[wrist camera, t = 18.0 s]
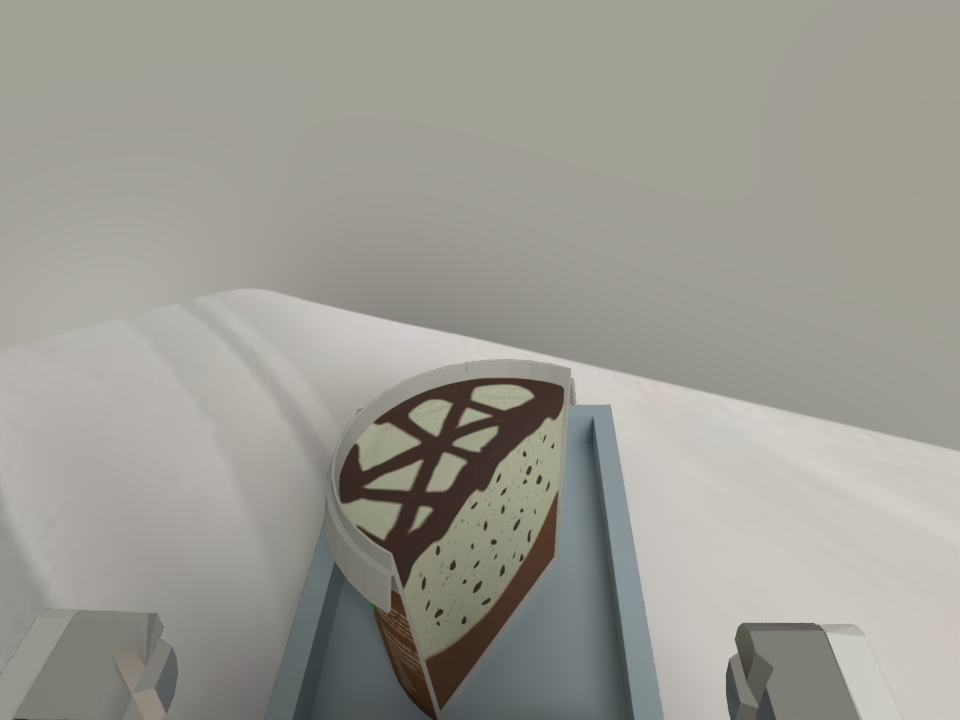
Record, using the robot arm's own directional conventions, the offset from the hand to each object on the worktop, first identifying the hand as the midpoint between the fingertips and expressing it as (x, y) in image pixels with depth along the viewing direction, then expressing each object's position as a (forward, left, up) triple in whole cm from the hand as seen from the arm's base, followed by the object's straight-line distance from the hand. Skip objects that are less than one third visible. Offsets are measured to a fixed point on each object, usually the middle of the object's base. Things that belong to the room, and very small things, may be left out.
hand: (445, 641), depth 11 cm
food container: (-3, +15, -18) cm, 23 cm away
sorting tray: (-1, +17, -18) cm, 25 cm away
